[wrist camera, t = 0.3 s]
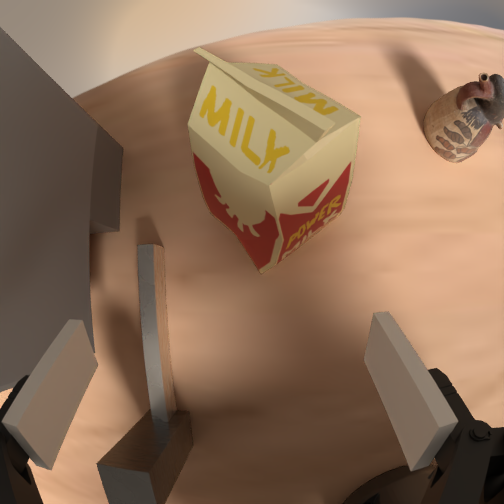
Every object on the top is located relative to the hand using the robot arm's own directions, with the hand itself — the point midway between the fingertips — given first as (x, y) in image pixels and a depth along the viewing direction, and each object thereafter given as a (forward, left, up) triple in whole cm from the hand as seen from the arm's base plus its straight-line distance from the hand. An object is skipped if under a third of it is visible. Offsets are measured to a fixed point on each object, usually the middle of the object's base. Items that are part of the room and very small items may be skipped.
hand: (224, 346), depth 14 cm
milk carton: (+10, -3, -16) cm, 19 cm away
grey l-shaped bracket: (-3, +8, -15) cm, 18 cm away
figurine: (+18, -24, -16) cm, 33 cm away
